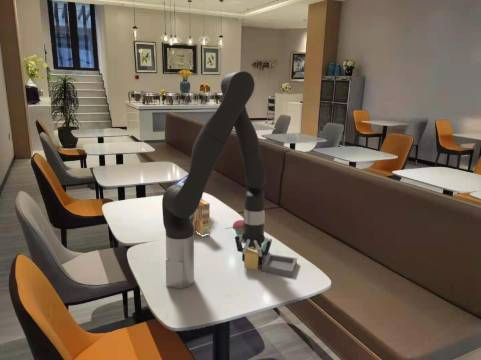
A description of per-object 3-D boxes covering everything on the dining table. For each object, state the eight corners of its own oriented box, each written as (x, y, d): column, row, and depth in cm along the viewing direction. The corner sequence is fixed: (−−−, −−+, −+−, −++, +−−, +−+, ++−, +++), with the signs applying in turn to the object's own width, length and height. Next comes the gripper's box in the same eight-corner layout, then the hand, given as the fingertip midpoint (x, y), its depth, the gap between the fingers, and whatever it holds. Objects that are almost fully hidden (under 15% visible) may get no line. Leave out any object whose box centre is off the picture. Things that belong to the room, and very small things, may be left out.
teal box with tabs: (260, 264, 142) (260, 248, 141) (247, 261, 144) (248, 247, 142) (267, 251, 154) (268, 237, 152) (255, 249, 155) (256, 235, 153)
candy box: (210, 235, 168) (210, 202, 164) (201, 237, 165) (201, 204, 161) (200, 229, 175) (200, 197, 171) (192, 231, 172) (192, 199, 169)
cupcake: (254, 234, 170) (255, 209, 167) (245, 241, 163) (246, 214, 160) (238, 230, 174) (239, 206, 171) (228, 236, 167) (229, 211, 164)
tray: (291, 276, 134) (292, 271, 133) (261, 271, 137) (262, 266, 136) (296, 263, 144) (296, 258, 143) (268, 258, 147) (268, 253, 146)
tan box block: (257, 269, 138) (257, 254, 137) (244, 267, 139) (244, 252, 138) (259, 264, 142) (260, 249, 140) (247, 262, 143) (247, 247, 142)
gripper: (232, 221, 135) (231, 264, 139) (271, 226, 131) (268, 271, 135) (238, 214, 142) (237, 256, 146) (275, 219, 138) (273, 262, 142)
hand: (252, 263), depth 141 cm, fingers closed on tan box block, 5 cm apart
